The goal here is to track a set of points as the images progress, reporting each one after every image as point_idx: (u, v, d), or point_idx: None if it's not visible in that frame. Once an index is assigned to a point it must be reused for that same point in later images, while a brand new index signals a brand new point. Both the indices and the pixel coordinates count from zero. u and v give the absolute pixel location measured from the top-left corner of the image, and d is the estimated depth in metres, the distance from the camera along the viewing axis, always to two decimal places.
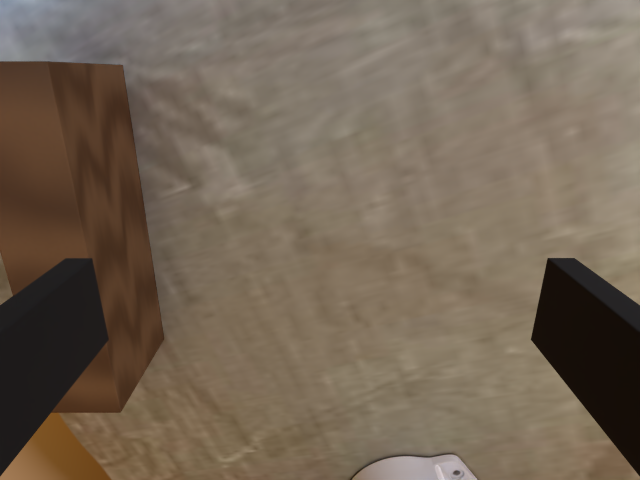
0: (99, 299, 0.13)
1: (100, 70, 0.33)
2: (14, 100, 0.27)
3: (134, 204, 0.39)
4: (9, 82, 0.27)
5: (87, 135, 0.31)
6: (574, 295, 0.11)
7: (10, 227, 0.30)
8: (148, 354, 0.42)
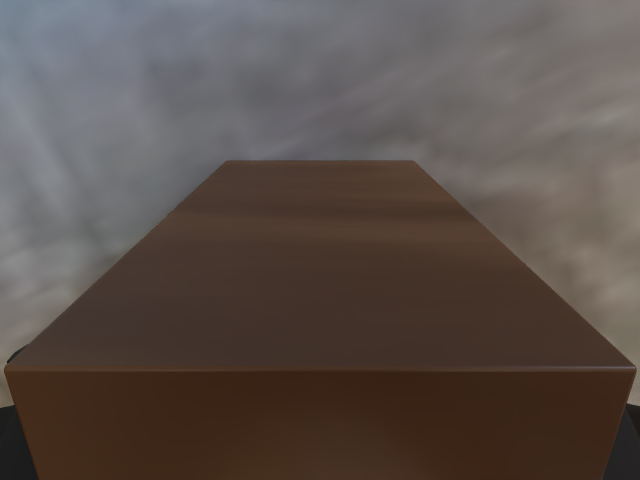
0: None
1: None
2: None
3: None
4: (364, 460, 0.05)
5: None
6: None
7: None
8: None
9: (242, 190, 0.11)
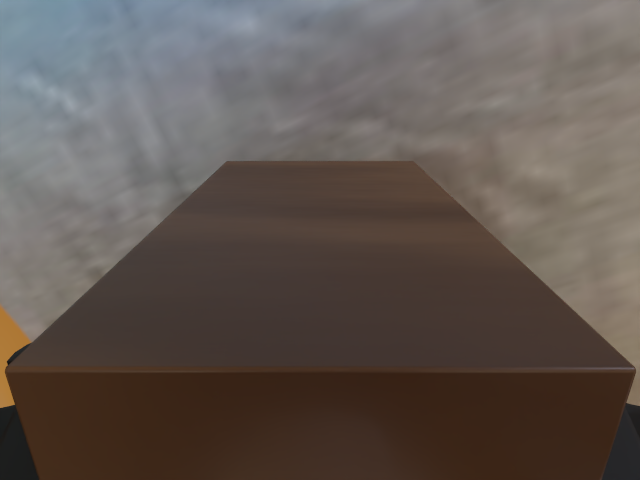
0: None
1: None
2: None
3: None
4: (364, 461, 0.05)
5: None
6: None
7: None
8: None
9: (242, 191, 0.11)
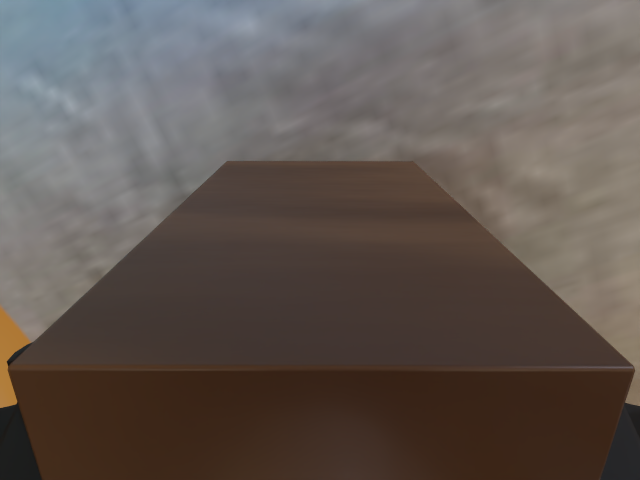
0: None
1: None
2: None
3: None
4: (365, 459, 0.05)
5: None
6: None
7: None
8: None
9: (242, 191, 0.11)
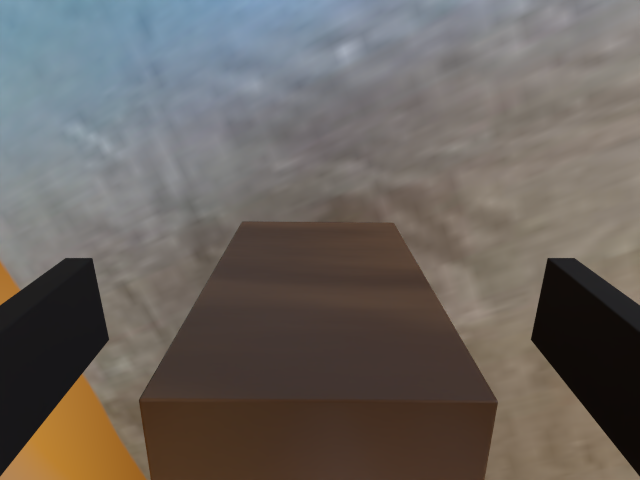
0: (99, 299, 0.13)
1: None
2: None
3: None
4: (344, 455, 0.08)
5: None
6: (574, 294, 0.11)
7: None
8: None
9: (258, 256, 0.14)
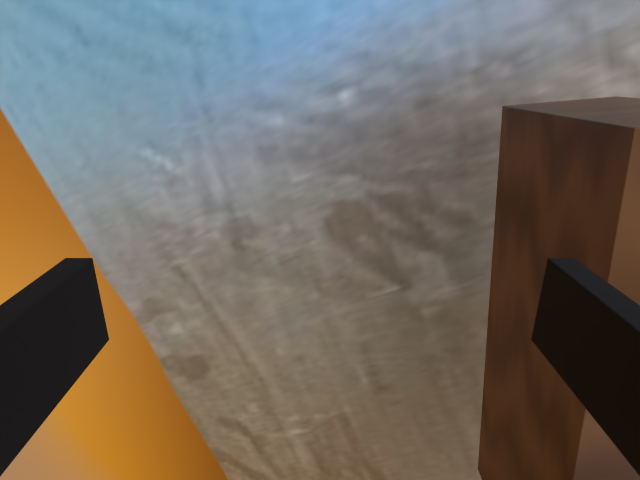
0: (99, 299, 0.13)
1: None
2: None
3: None
4: None
5: None
6: (574, 295, 0.11)
7: None
8: None
9: (561, 109, 0.20)
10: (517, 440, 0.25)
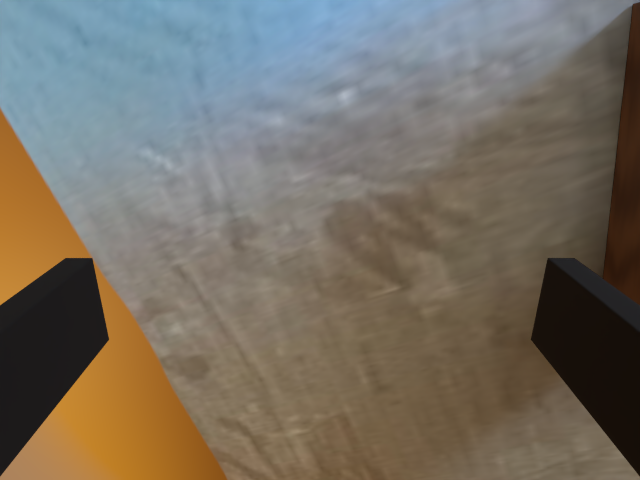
0: (99, 299, 0.13)
1: None
2: None
3: None
4: None
5: None
6: (574, 295, 0.11)
7: None
8: None
9: None
10: None
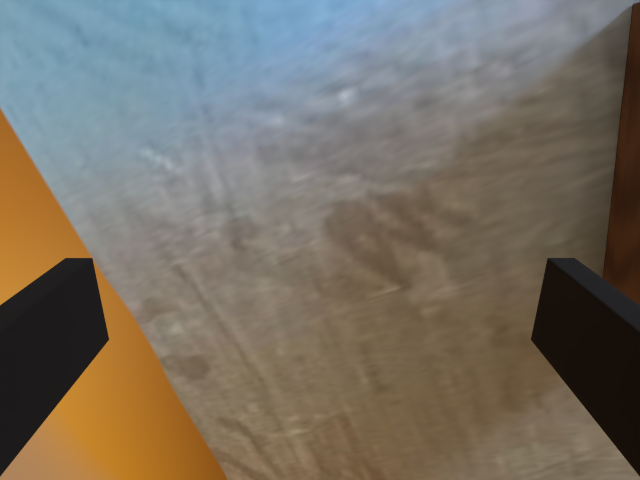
0: (99, 299, 0.13)
1: None
2: None
3: None
4: None
5: None
6: (574, 295, 0.11)
7: None
8: None
9: None
10: None
